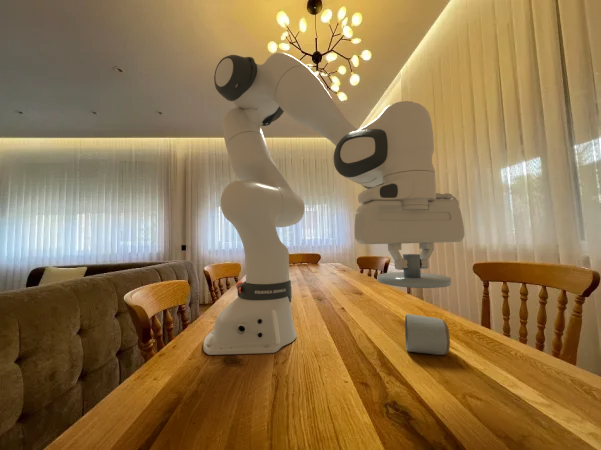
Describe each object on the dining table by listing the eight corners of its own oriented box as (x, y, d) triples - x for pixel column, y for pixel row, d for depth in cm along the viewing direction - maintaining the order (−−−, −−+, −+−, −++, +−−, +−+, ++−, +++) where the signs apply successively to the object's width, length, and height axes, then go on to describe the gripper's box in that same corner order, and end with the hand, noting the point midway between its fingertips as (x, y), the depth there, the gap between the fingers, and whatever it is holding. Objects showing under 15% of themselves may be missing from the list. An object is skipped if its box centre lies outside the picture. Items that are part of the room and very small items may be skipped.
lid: (402, 290, 38) (400, 258, 38) (366, 277, 50) (365, 253, 50) (469, 285, 41) (467, 255, 41) (419, 275, 52) (418, 251, 52)
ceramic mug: (453, 362, 50) (450, 322, 50) (408, 357, 52) (406, 319, 53) (440, 341, 60) (438, 308, 60) (402, 338, 62) (401, 306, 63)
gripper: (444, 196, 51) (448, 264, 51) (349, 194, 47) (352, 269, 46) (471, 190, 45) (475, 268, 44) (364, 188, 41) (367, 273, 40)
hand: (411, 269), depth 45 cm, fingers closed on lid, 3 cm apart
